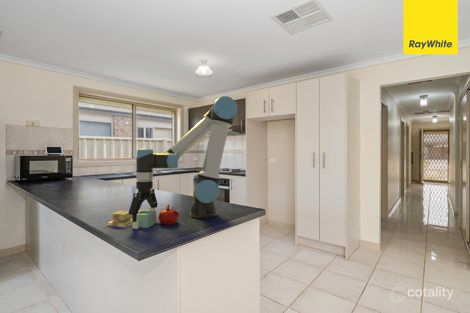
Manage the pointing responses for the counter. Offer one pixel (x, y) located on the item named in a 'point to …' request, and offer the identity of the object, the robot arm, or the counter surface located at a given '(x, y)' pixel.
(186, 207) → the counter surface
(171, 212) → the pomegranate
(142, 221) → the cup block
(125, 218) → the plate
